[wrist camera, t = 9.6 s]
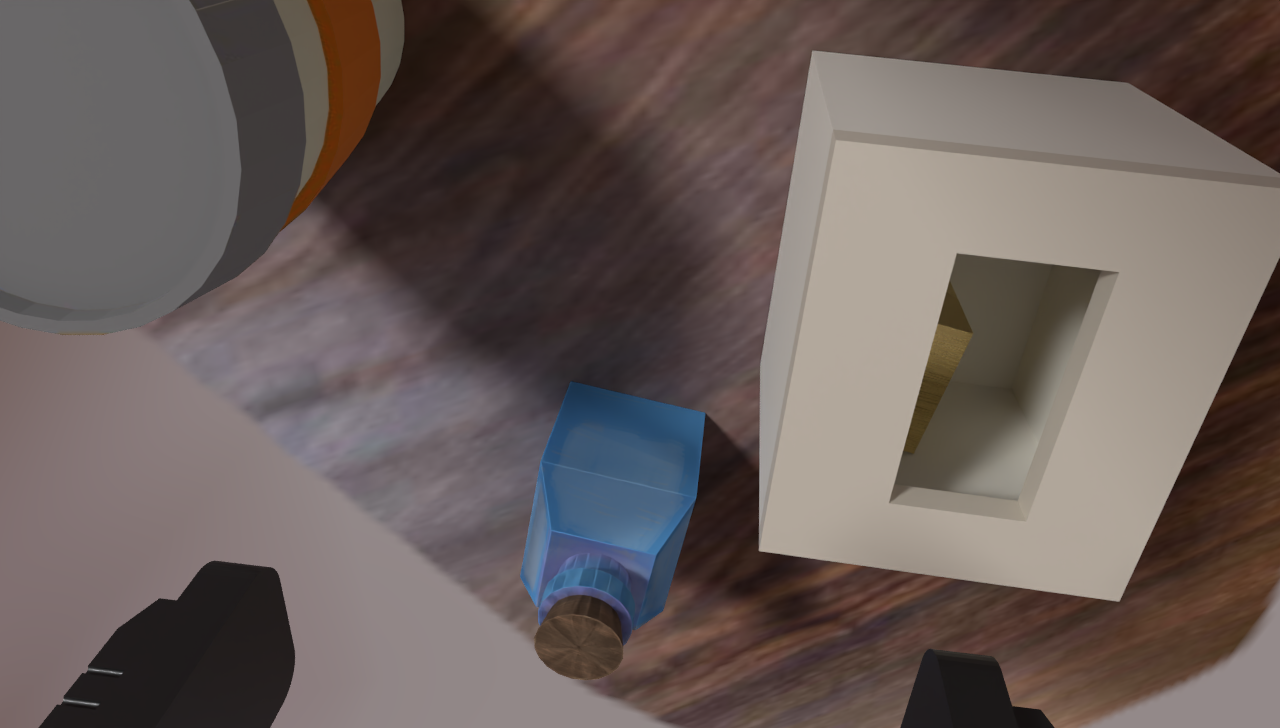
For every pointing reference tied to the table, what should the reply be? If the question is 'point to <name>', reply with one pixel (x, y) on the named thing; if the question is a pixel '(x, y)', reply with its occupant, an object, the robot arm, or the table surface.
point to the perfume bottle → (608, 523)
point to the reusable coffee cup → (169, 143)
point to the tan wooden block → (939, 365)
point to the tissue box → (999, 319)
